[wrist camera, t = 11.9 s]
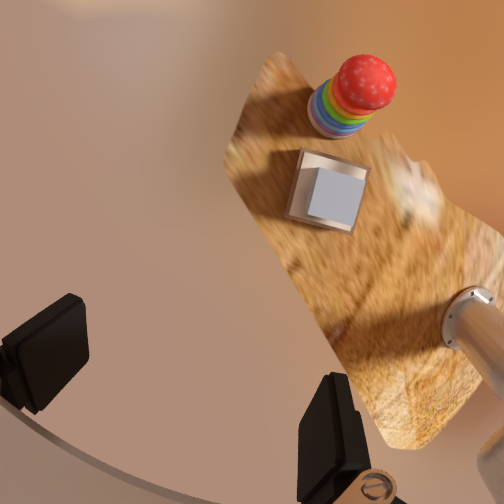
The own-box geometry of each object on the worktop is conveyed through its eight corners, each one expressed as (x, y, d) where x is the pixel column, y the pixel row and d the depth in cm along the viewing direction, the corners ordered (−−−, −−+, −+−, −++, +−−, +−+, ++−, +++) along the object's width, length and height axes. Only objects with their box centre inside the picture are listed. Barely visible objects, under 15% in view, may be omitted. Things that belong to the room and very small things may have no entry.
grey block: (353, 178, 34) (365, 180, 28) (342, 217, 35) (353, 226, 29) (314, 167, 34) (319, 167, 28) (304, 207, 35) (307, 214, 30)
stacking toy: (296, 121, 36) (302, 81, 18) (323, 76, 34) (346, 11, 16) (346, 151, 37) (393, 137, 19) (372, 105, 34) (430, 64, 16)
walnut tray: (362, 167, 37) (371, 167, 33) (346, 229, 40) (352, 236, 35) (300, 149, 37) (301, 147, 33) (284, 212, 40) (284, 217, 36)
